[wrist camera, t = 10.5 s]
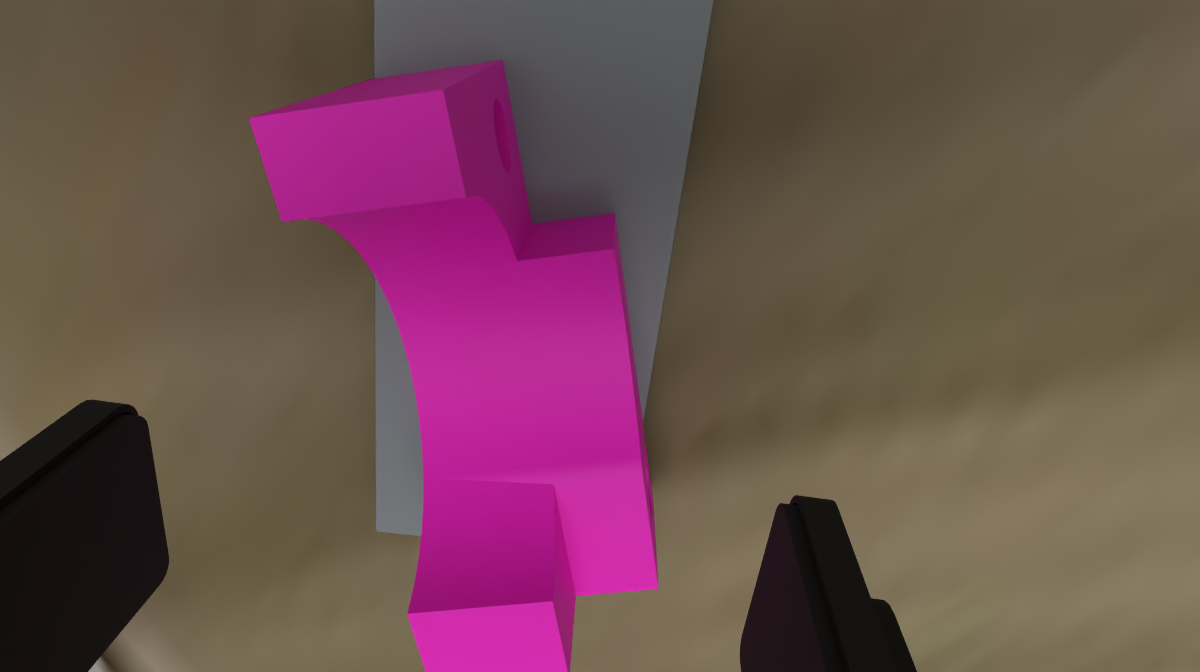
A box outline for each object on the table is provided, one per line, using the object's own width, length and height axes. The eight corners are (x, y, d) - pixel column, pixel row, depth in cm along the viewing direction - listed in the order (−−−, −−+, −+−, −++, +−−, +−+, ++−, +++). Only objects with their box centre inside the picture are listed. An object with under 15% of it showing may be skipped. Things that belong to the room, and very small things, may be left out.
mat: (732, -132, 19) (736, -136, 19) (620, 548, 28) (620, 559, 28) (380, -180, 19) (373, -185, 18) (381, 520, 28) (376, 531, 27)
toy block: (652, 497, 26) (663, 670, 20) (480, 514, 27) (431, 689, 20) (593, 46, 20) (577, 69, 14) (371, 79, 21) (249, 118, 14)
